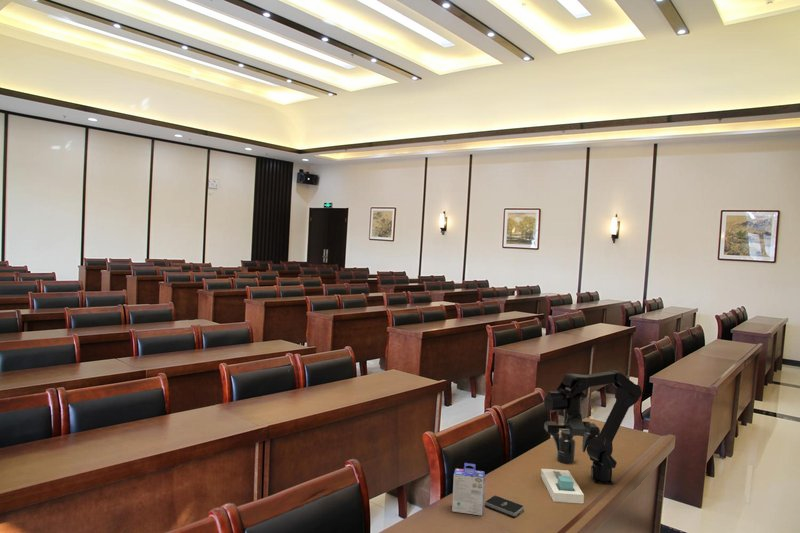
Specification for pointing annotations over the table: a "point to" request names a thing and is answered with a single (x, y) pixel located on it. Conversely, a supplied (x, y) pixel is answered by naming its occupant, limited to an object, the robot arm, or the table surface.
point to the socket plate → (558, 495)
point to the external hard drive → (504, 506)
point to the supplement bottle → (566, 448)
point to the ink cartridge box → (468, 490)
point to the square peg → (565, 483)
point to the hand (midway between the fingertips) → (570, 451)
